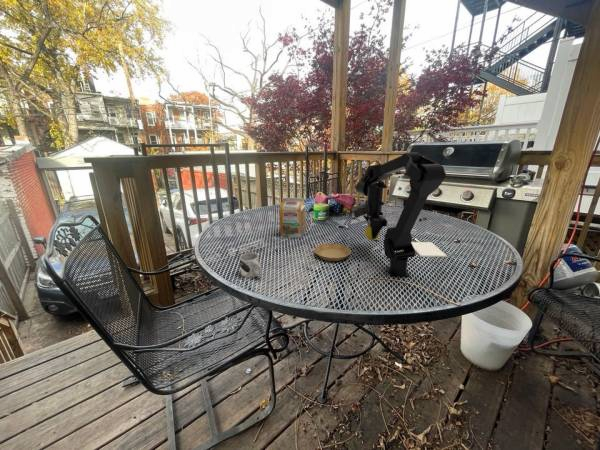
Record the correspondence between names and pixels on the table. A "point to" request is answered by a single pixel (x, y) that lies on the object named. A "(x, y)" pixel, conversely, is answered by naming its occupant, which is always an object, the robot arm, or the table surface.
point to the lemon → (369, 233)
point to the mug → (250, 265)
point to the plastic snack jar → (292, 217)
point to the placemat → (427, 249)
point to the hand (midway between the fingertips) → (372, 236)
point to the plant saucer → (332, 251)
